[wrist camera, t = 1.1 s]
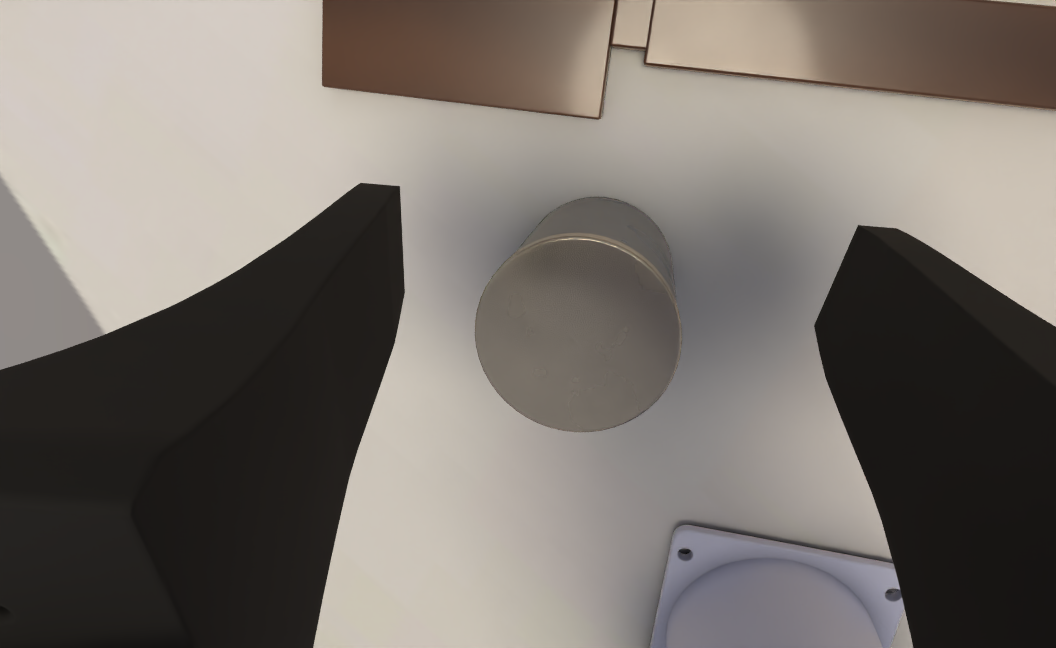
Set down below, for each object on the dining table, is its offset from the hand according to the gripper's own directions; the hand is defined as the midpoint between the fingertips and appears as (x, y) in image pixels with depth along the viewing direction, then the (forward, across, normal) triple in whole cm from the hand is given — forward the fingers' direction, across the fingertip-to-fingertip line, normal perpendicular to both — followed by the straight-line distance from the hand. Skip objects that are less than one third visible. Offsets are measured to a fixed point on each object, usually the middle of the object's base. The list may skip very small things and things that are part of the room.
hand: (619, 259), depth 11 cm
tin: (+9, -1, +7) cm, 11 cm away
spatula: (+11, -5, 0) cm, 12 cm away
